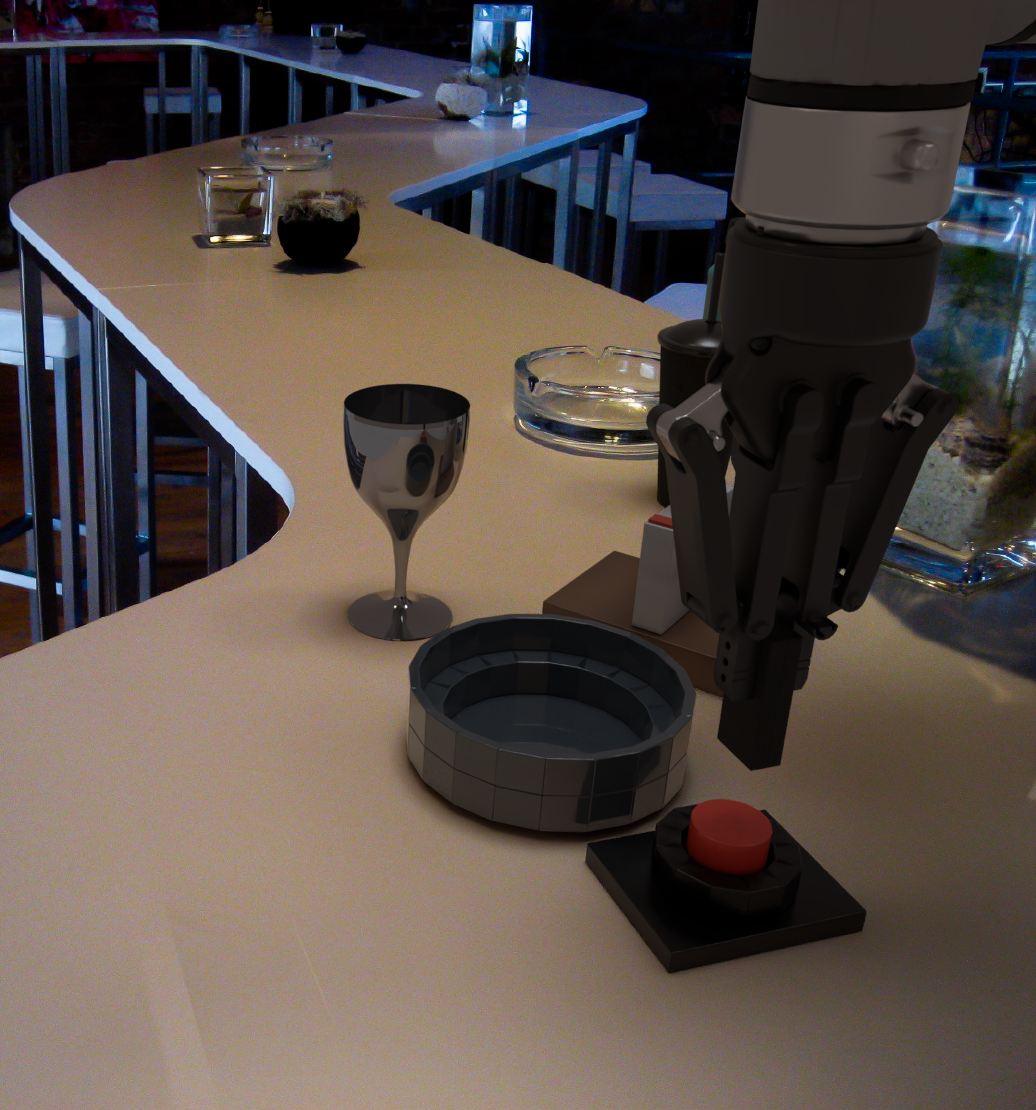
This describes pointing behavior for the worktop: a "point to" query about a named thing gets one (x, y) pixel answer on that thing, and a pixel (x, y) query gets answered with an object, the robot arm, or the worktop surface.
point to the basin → (549, 721)
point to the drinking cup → (690, 368)
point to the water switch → (719, 896)
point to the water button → (729, 836)
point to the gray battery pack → (660, 575)
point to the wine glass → (404, 489)
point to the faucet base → (611, 602)
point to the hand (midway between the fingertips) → (748, 751)
